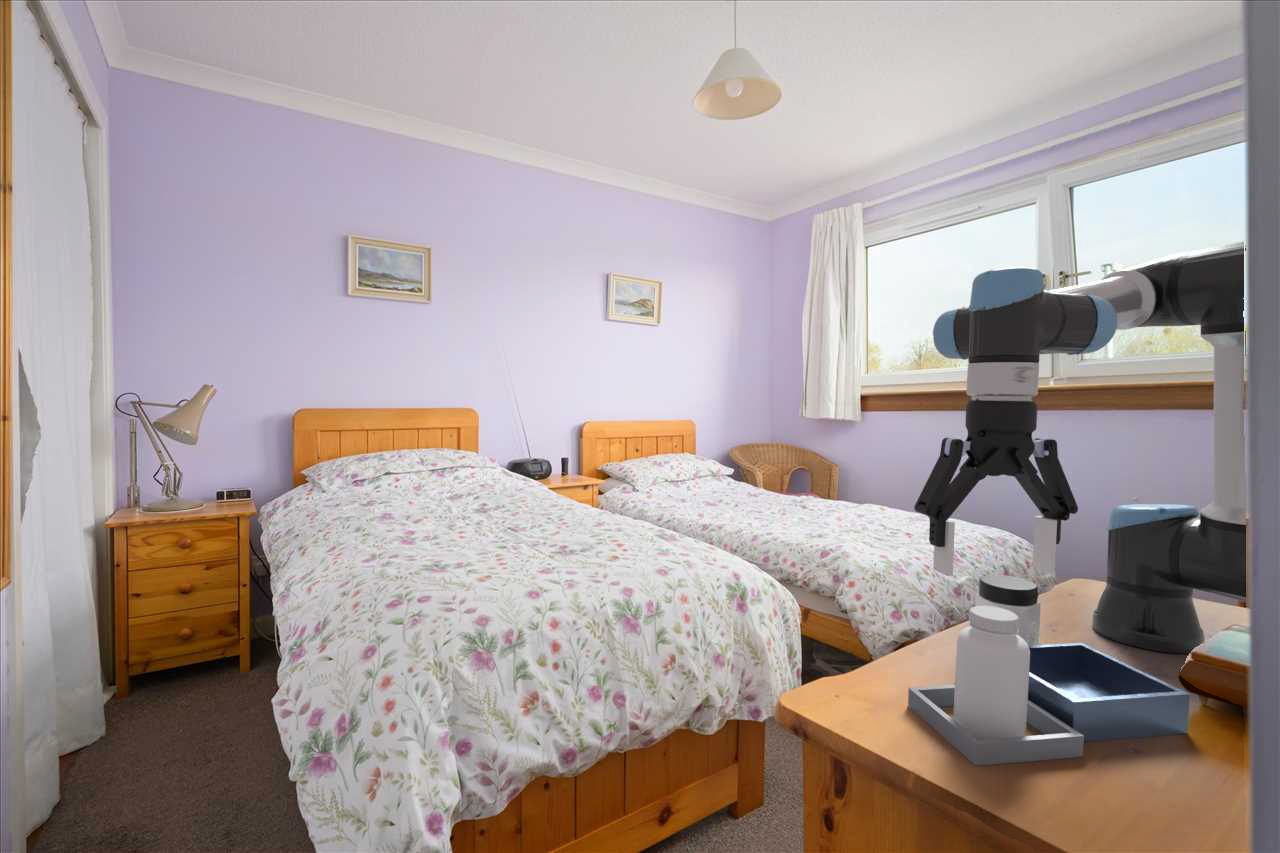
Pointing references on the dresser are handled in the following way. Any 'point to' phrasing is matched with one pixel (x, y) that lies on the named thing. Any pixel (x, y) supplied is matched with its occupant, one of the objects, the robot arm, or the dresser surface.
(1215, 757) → the dresser surface
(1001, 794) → the dresser surface
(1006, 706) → the pill bottle
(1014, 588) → the jar
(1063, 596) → the dresser surface
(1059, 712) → the bin
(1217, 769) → the dresser surface
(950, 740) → the frame
